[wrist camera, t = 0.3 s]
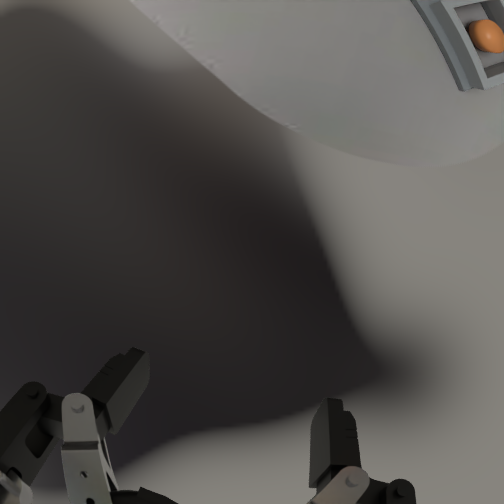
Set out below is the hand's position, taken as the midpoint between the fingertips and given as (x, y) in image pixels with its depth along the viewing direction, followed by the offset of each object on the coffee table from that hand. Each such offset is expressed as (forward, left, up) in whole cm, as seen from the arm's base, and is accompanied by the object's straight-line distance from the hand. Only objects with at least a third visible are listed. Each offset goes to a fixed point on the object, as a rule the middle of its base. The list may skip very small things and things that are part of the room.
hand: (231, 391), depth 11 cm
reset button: (-4, +33, -29) cm, 44 cm away
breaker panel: (-6, +33, -30) cm, 45 cm away
